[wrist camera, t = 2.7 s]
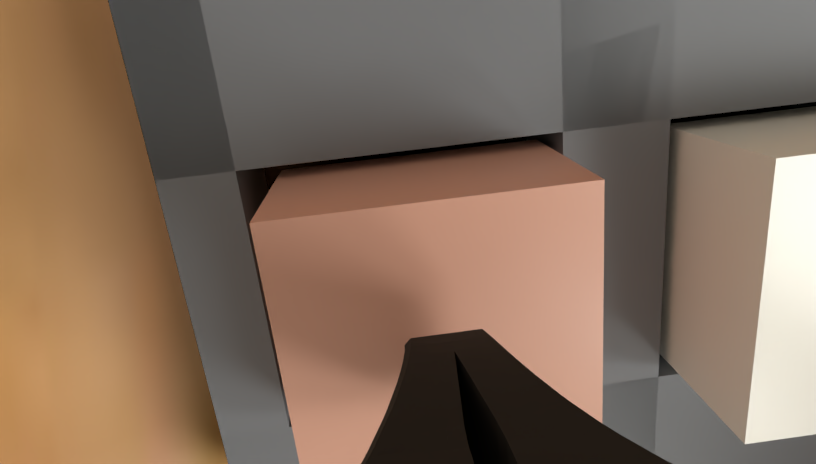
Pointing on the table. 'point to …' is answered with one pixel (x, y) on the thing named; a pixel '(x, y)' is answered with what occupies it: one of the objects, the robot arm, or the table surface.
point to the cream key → (744, 269)
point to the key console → (443, 126)
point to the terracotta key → (427, 277)
